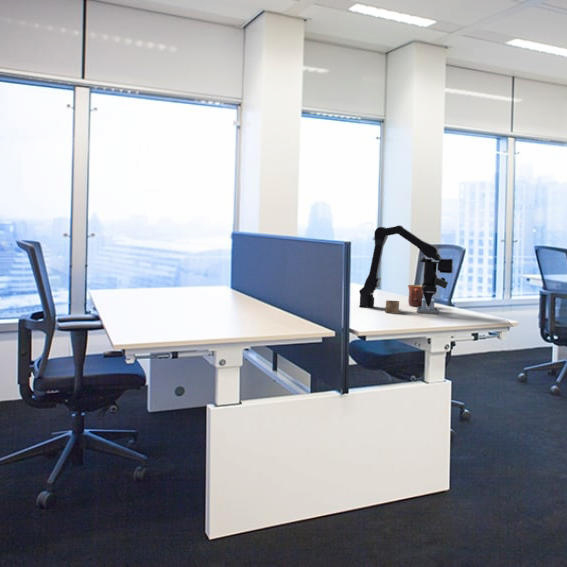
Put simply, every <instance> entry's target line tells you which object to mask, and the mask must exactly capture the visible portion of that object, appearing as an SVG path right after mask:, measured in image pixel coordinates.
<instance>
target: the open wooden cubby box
mask: <svg viewBox="0 0 567 567" xmlns="http://www.w3.org/2000/svg"><path fill="white" fill-rule="evenodd" d="M399 309H400V301H399V300H387V299H386V301H385V314H386V313H387V314H400V310H399Z"/></svg>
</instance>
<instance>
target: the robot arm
mask: <svg viewBox="0 0 567 567" xmlns="http://www.w3.org/2000/svg"><path fill="white" fill-rule="evenodd" d="M393 235H399V236H401V237H402V238H403V239H405V240H406V241H408V242H409V243H411V244H412V245H413V246H415V247H416V248H417V249H418V250H420V252H421V253H422V254H423V255H424V257H423V258H422V259H421V260H420V261H419V262H420V263H424V265H423V267H424V268H423V277H422V283H421V285H422V290H423V298H424V299H425V301H426V304H427V306H430V303H431V299H433V296H434V295H436V293H437V290H438V289H437V286H438V287H441V288H442V289H444V290H446V289H447V287H448V284H449V282H448V281H447V280H446V278H445V277H442V276H441V278H440V277H438V275H437V271H438V272H439V273H441V274H453V272H454V259H453V258H442V256H440V254H439V249H438V248H437V246H435V245H433V244H431V243H430V242H429V243H428V242H426V241H424V240H422V239H420V238H419V237H418V236H416V235H415V234H414V233H412V232H410V231H409V230H407V229H406V228H404V227H403V226H402V225H395V226H390V227H385V226H379V227H377V228H375V230H374V236H373V237H374V238H373V239H374V248H373V255H372V259H371V264H370V268H369V273H368V275H367V277H366V279H365V282H364V285H363V287H362V288H360V289H359V306H358V307H360V308H373V307H374V306H375V296H374V293H375V291H376V290H378V288H379V287H381V286H380V282H381V277H379V271H380V266H381V261H382V260H381V259H382V256H383V250H384V246H385V244H386V241H387V240H388V238H389V236H393ZM433 260H434V261H433Z"/></svg>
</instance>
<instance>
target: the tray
mask: <svg viewBox="0 0 567 567" xmlns="http://www.w3.org/2000/svg"><path fill="white" fill-rule="evenodd" d="M416 313H417V314H428V315H429V314H431V315H440V308H439V307H434V311H433V310H422V306H421V307H416Z"/></svg>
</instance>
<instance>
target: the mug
mask: <svg viewBox="0 0 567 567" xmlns="http://www.w3.org/2000/svg"><path fill="white" fill-rule="evenodd" d="M407 288H408V300H407V301H408V302H407V303H408V305H409V307H415V308H417V307H422V298H424V294H423V290H422V284H409V285H407Z"/></svg>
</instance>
